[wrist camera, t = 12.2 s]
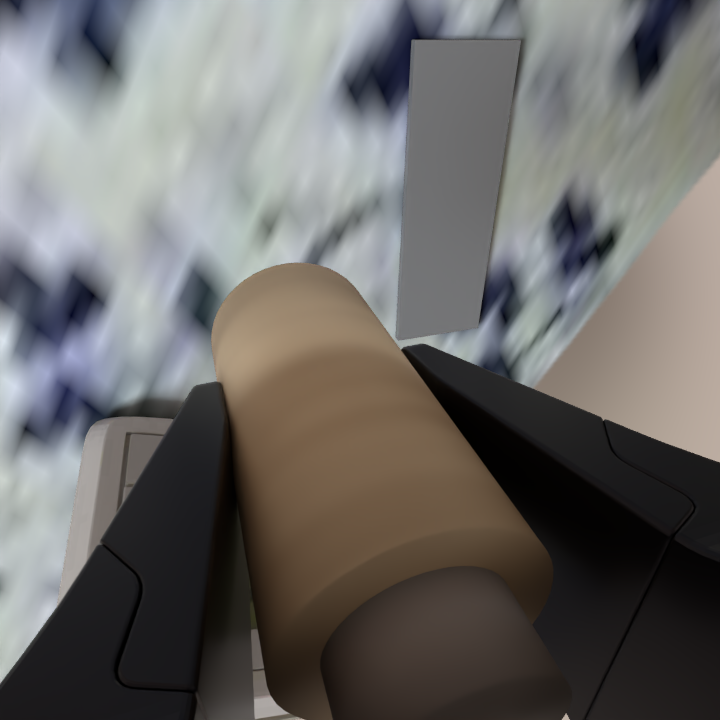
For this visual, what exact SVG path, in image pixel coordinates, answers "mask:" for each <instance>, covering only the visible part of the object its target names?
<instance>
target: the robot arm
mask: <svg viewBox="0 0 720 720" xmlns="http://www.w3.org/2000/svg"><path fill="white" fill-rule="evenodd" d="M401 351H402V352H403V354H404V355H405V356H406V358H407V359H408V361H409V362H410V363H411V365H412V366H413V367H414V369H415V370H416V372H417V373H418V374H419V376H420V377H421V378H422V380H423V381H424V383H425V384H426V385H427V387H428V388H429V389H430V391H431V392H432V394H433V395H434V396H435V398H436V399H437V400H438V402H439V403H440V404H441V406H442V407H443V409H444V410H445V411H446V413H447V414H448V415H449V417H450V418H451V420H452V421H453V422H454V424H455V425H456V426H457V428H458V429H459V431H460V432H461V433H462V435H463V436H464V437H465V439H466V440H467V442H468V443H469V444H470V446H471V447H472V448H473V450H474V451H475V452H476V454H477V455H478V457H479V458H480V459H481V461H482V462H483V463H484V465H485V466H486V468H487V469H488V470H489V472H490V473H491V474H492V476H493V477H494V479H495V480H496V481H497V483H498V484H499V485H500V487H501V488H502V490H503V491H504V492H505V494H506V495H507V496H508V498H509V499H510V500H511V502H512V503H513V505H514V506H515V507H516V509H517V510H518V511H519V513H520V514H521V516H522V517H523V518H524V520H525V521H526V522H527V524H528V525H529V527H530V528H531V529H532V531H533V532H534V533H535V535H536V536H537V538H538V539H539V540H540V542H541V543H542V544H543V546H544V547H545V548H546V550H547V551H548V553H549V556H550V558H551V560H552V565H553V583H552V587H551V591H550V594H549V597H548V599H547V602H546V604H545V605H544V607H543V609H542V611H541V613H540V614H539V616H538V617H537V619H536V620H535V621H534V623H533V624H532V625H533V627H534V629H535V630H536V632H537V633H538V635H539V637H540V638H541V640H542V642H543V643H544V645H545V646H546V648H547V650H548V651H549V653H550V655H551V656H552V658H553V659H554V661H555V663H556V664H557V666H558V668H559V669H560V671H561V672H562V674H563V676H564V677H565V679H566V681H567V682H568V684H569V685H570V687H571V690H572V700H571V703H570V706H569V708H568V710H567V712H566V713H567V715H568V717H569V719H570V720H720V462H716V461H713V460H711V459H708V458H705V457H702V456H700V455H697V454H694V453H691V452H688V451H686V450H683V449H680V448H677V447H675V446H671V445H669V444H666V443H663V442H661V441H658V440H656V439H653V438H651V437H648V436H646V435H643V434H641V433H638V432H636V431H633V430H630V429H628V428H626V427H624V426H621V425H619V424H616V423H614V422H612V421H609V420H604V421H603V420H602V418H601V417H599V416H597V415H595V414H592V413H590V412H587V411H585V410H582V409H580V408H578V407H575V406H573V405H570V404H568V403H566V402H563V401H561V400H559V399H556V398H554V397H551V396H549V395H547V394H544V393H542V392H539V391H537V390H534V389H532V388H530V387H527V386H525V385H522V384H520V383H518V382H515V381H513V380H510V379H508V378H506V377H503V376H501V375H498V374H496V373H494V372H491V371H489V370H486V369H484V368H482V367H479V366H477V365H474V364H472V363H470V362H467V361H465V360H462V359H460V358H458V357H455V356H453V355H450V354H448V353H446V352H443V351H441V350H438V349H436V348H434V347H431V346H429V345H426V344H417V345H412V346H407V347H403V348H402V350H401ZM99 543H100V544H99V545H97V546H96V547H95V548H94V550H93V552H92V553H91V555H90V556H89V558H88V560H87V561H86V563H85V565H84V566H83V568H82V569H81V571H80V573H79V574H78V576H77V577H76V579H75V580H74V582H73V583H72V585H71V586H70V588H69V589H68V591H67V592H66V594H65V596H64V597H63V599H62V600H61V602H60V603H59V605H58V606H57V608H56V609H55V610H54V612H53V613H52V615H51V616H50V617H49V619H48V620H47V621H46V623H45V624H44V626H43V627H42V628H41V630H40V631H39V632H38V634H37V635H36V637H35V638H34V639H33V641H32V642H31V643H30V645H29V646H28V648H27V649H26V650H25V652H24V653H23V654H22V656H21V657H20V658H19V660H18V661H17V662H16V664H15V665H14V666H13V667H12V669H11V670H10V671H9V673H8V674H7V675H6V677H5V678H4V679H3V681H2V682H1V683H0V720H255V713H254V689H253V665H252V641H251V618H250V594H249V573H248V567H247V561H246V555H245V549H244V543H243V537H242V530H241V524H240V518H239V512H238V506H237V500H236V494H235V486H234V478H233V463H232V448H231V436H230V428H229V422H228V416H227V411H226V405H225V399H224V394H223V388H222V384H221V383H220V382H211V383H206V384H200V385H196V386H194V387H193V389H192V390H191V392H190V394H189V395H188V397H187V398H186V400H185V402H184V403H183V405H182V407H181V408H180V410H179V412H178V413H177V415H176V416H175V418H174V420H173V421H172V423H171V425H170V426H169V428H168V429H167V431H166V433H165V434H164V436H163V438H162V439H161V441H160V443H159V444H158V446H157V447H156V449H155V451H154V452H153V454H152V456H151V457H150V459H149V461H148V462H147V464H146V465H145V467H144V469H143V470H142V472H141V474H140V475H139V477H138V479H137V480H136V482H135V483H134V485H133V487H132V488H131V490H130V492H129V493H128V495H127V496H126V498H125V500H124V501H123V503H122V505H121V506H120V508H119V510H118V511H117V513H116V514H115V516H114V518H113V519H112V521H111V523H110V524H109V526H108V528H107V529H106V531H105V532H104V534H103V536H102V537H101V539H100V541H99Z"/></svg>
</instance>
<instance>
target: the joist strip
mask: <svg viewBox="0 0 720 720" xmlns="http://www.w3.org/2000/svg"><path fill="white" fill-rule="evenodd" d="M520 44H521V40H412V43H411V62H410V80H409V99H408V118H407V136H406V155H405V173H404V192H403V211H402V229H401V248H400V266H399V285H398V303H397V322H396V338H397V340H405V339H411V338H417V337H424V336H430V335H436V334H442V333H449V332H455V331H461V330H468V329H474V328H478V324H479V317H480V311H481V304H482V297H483V291H484V284H485V277H486V271H487V264H488V257H489V251H490V244H491V237H492V231H493V224H494V217H495V211H496V204H497V197H498V191H499V184H500V177H501V171H502V164H503V157H504V151H505V144H506V137H507V131H508V124H509V117H510V110H511V104H512V97H513V90H514V84H515V77H516V70H517V64H518V57H519V50H520Z"/></svg>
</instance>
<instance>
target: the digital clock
mask: <svg viewBox="0 0 720 720" xmlns="http://www.w3.org/2000/svg"><path fill="white" fill-rule="evenodd" d="M173 420H174V419H166V418H150V417H114V418H105V419H103V420H100V421H97V422H96V423H95V424H93V425H92V426H91V428H90V429H89V431H88V433H87V436H86V439H85V443H84V448H83V453H82V459H81V465H80V471H79V477H78V483H77V489H76V494H75V500H74V506H73V512H72V518H71V524H70V530H69V536H68V542H67V548H66V554H65V560H64V566H63V572H62V578H61V584H60V590H59V596H58V602H57V606H58V605H59V603H60V602H61V600H62V599H63V597H64V596H65V594H66V592H67V591H68V589H69V588H70V586H71V585H72V583H73V582H74V580H75V579H76V577H77V576H78V574H79V573H80V571H81V569H82V568H83V566H84V565H85V563H86V561H87V560H88V558H89V556H90V555H91V553H92V552H93V550H94V548H95V547H96V546H97V545H99V544H100V543H99V541H100V539H101V537H102V536H103V534H104V532H105V531H106V529H107V528H108V526H109V524H110V523H111V521H112V519H113V518H114V516H115V514H116V513H117V511H118V510H119V508H120V506H121V505H122V503H123V501H124V500H125V498H126V496H127V495H128V493H129V492H130V490H131V488H132V487H133V485H134V483H135V482H136V480H137V479H138V477H139V475H140V474H141V472H142V470H143V469H144V467H145V465H146V464H147V462H148V461H149V459H150V457H151V456H152V454H153V452H154V451H155V449H156V447H157V446H158V444H159V443H160V441H161V439H162V438H163V436H164V434H165V433H166V431H167V429H168V428H169V426H170V425H171V423H172V421H173ZM249 594H250V618H251V641H252V665H253V689H254V713H255V720H295V719H301V718H299V717H296V716H293V715H292V714H290V713H288V712H286V711H284V710H283V709H282V708H281V707H279V706H278V705H277V704H276V703H275V701H274V700H273V699H272V697H271V696H270V693H269V690H268V688H267V684H266V678H265V671H264V665H263V659H262V653H261V647H260V641H259V635H258V629H257V622H256V616H255V610H254V604H253V598H252V592H251V586H250V579H249Z"/></svg>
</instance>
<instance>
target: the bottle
mask: <svg viewBox="0 0 720 720" xmlns="http://www.w3.org/2000/svg"><path fill="white" fill-rule="evenodd" d="M211 344H212V352H213V359H214V365H215V371H216V377H217V382H220V383H221V384H222V388H223V394H224V399H225V405H226V411H227V416H228V422H229V428H230V436H231V448H232V463H233V478H234V486H235V494H236V500H237V506H238V512H239V518H240V524H241V530H242V537H243V543H244V549H245V555H246V561H247V567H248V573H249V579H250V586H251V592H252V598H253V604H254V610H255V616H256V622H257V629H258V635H259V641H260V647H261V653H262V659H263V665H264V671H265V678H266V684H267V688H268V690H269V693H270V696H271V697H272V699H273V700H274V701H275V703H276V704H277V705H278V706H279V707H281V708H282V709H283V710H284V711H286V712H288V713H290V714H292V715H293V716H296V717H299V718H302V719H305V720H562V718H563V717H564V715H565V714H566V712H567V710H568V708H569V706H570V703H571V700H572V690H571V687H570V685H569V684H568V682H567V681H566V679H565V677H564V676H563V674H562V672H561V671H560V669H559V668H558V666H557V664H556V663H555V661H554V659H553V658H552V656H551V655H550V653H549V651H548V650H547V648H546V646H545V645H544V643H543V642H542V640H541V638H540V637H539V635H538V633H537V632H536V630H535V629H534V627H533V625H532V624H533V623H534V621H535V620H536V619H537V617H538V616H539V614H540V613H541V611H542V609H543V607H544V605H545V604H546V602H547V599H548V597H549V594H550V591H551V587H552V583H553V565H552V560H551V558H550V556H549V553H548V551H547V550H546V548H545V547H544V546H543V544H542V543H541V542H540V540H539V539H538V538H537V536H536V535H535V533H534V532H533V531H532V529H531V528H530V527H529V525H528V524H527V522H526V521H525V520H524V518H523V517H522V516H521V514H520V513H519V511H518V510H517V509H516V507H515V506H514V505H513V503H512V502H511V500H510V499H509V498H508V496H507V495H506V494H505V492H504V491H503V490H502V488H501V487H500V485H499V484H498V483H497V481H496V480H495V479H494V477H493V476H492V474H491V473H490V472H489V470H488V469H487V468H486V466H485V465H484V463H483V462H482V461H481V459H480V458H479V457H478V455H477V454H476V452H475V451H474V450H473V448H472V447H471V446H470V444H469V443H468V442H467V440H466V439H465V437H464V436H463V435H462V433H461V432H460V431H459V429H458V428H457V426H456V425H455V424H454V422H453V421H452V420H451V418H450V417H449V415H448V414H447V413H446V411H445V410H444V409H443V407H442V406H441V404H440V403H439V402H438V400H437V399H436V398H435V396H434V395H433V394H432V392H431V391H430V389H429V388H428V387H427V385H426V384H425V383H424V381H423V380H422V378H421V377H420V376H419V374H418V373H417V372H416V370H415V369H414V367H413V366H412V365H411V363H410V362H409V361H408V359H407V358H406V356H405V355H404V354H403V352H402V351H401V350H400V348H399V347H398V346H397V344H396V343H395V341H394V340H393V339H392V337H391V336H390V335H389V333H388V332H387V330H386V329H385V328H384V326H383V325H382V324H381V322H380V321H379V319H378V318H377V317H376V315H375V314H374V313H373V311H372V310H371V308H370V307H369V306H368V304H367V303H366V302H365V300H364V299H363V298H362V296H361V295H360V293H359V292H358V291H357V290H356V288H355V287H354V286H353V285H352V284H351V283H350V282H349V281H348V280H347V279H346V278H344V277H343V276H342V275H340V274H339V273H337V272H335V271H333V270H331V269H329V268H326V267H323V266H320V265H315V264H310V263H286V264H281V265H276V266H273V267H270V268H267V269H264V270H262V271H260V272H257V273H255V274H253V275H252V276H250V277H249V278H247V279H245V280H244V281H243V282H242V283H240V284H239V285H238V286H237V287H236V288H235V289H234V290H233V291H232V292H231V293H230V294H229V295H228V296H227V298H226V299H225V300H224V302H223V303H222V305H221V307H220V309H219V310H218V312H217V315H216V318H215V320H214V323H213V328H212V337H211Z"/></svg>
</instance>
